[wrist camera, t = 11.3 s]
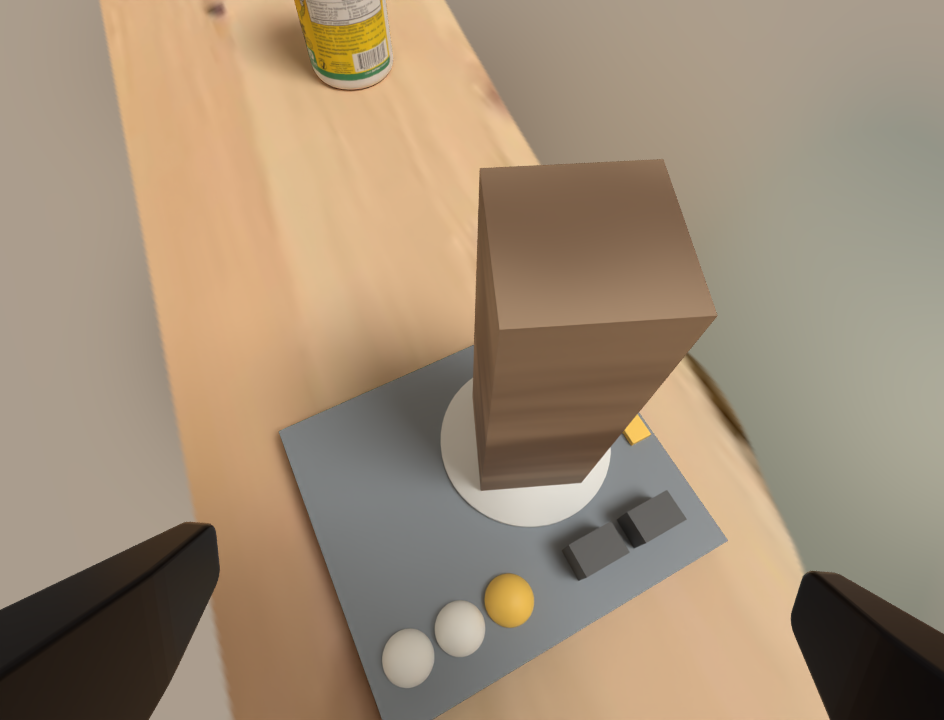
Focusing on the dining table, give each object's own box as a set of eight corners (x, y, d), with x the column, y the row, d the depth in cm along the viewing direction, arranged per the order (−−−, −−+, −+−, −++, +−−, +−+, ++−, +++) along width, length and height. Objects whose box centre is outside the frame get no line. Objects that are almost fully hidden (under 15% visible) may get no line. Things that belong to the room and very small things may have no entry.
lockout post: (581, 482, 21) (717, 316, 10) (480, 491, 20) (499, 329, 9) (564, 390, 22) (663, 159, 11) (472, 397, 22) (479, 168, 11)
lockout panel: (714, 544, 21) (747, 534, 19) (395, 737, 18) (384, 754, 16) (560, 318, 26) (569, 286, 23) (287, 440, 23) (266, 418, 20)
